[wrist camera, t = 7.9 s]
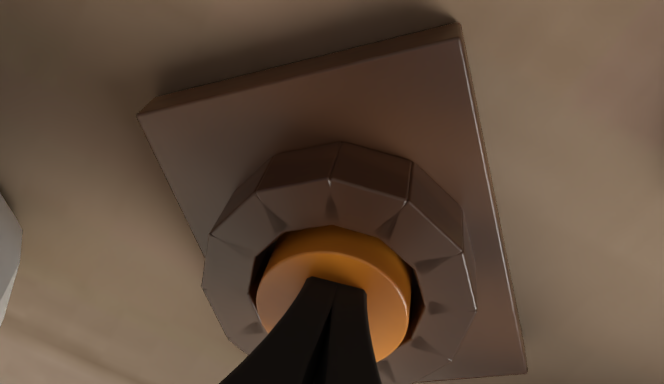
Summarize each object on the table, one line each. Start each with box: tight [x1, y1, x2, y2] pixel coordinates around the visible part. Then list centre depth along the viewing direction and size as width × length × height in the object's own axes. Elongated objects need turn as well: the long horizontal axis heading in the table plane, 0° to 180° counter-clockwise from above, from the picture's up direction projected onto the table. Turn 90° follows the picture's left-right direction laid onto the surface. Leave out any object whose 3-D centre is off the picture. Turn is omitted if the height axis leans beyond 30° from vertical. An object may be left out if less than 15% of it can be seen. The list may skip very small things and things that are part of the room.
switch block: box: [136, 22, 528, 384], centre depth 16 cm, size 10×8×3 cm
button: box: [256, 225, 413, 362], centre depth 15 cm, size 4×4×2 cm
